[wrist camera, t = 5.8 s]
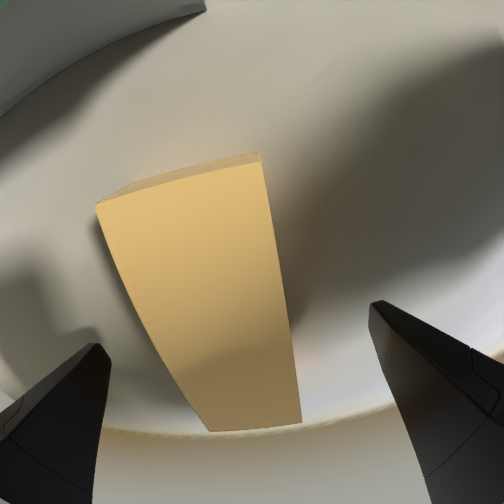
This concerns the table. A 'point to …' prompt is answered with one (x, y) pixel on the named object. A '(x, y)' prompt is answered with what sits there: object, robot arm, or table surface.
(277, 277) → the light orange rectangular block
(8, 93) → the crate
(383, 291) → the table surface
